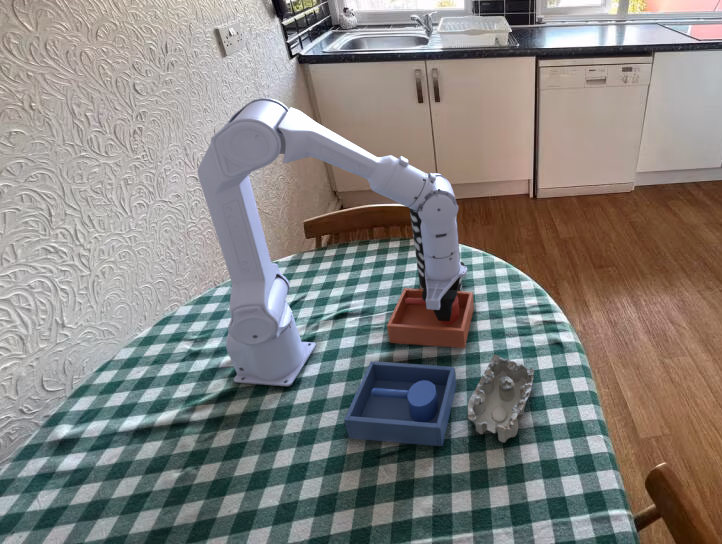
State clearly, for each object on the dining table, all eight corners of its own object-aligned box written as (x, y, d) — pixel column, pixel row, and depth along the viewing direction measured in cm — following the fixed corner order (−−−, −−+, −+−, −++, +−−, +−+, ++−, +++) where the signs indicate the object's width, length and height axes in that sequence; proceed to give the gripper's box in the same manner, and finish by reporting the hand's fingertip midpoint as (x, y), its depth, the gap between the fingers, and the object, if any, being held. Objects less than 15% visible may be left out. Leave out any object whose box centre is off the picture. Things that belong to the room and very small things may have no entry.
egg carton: (512, 450, 56) (511, 431, 54) (463, 428, 58) (461, 409, 56) (538, 382, 64) (538, 364, 63) (494, 366, 67) (494, 348, 65)
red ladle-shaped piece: (403, 321, 73) (401, 306, 71) (410, 304, 76) (408, 289, 75) (456, 324, 72) (455, 309, 70) (461, 307, 76) (460, 292, 74)
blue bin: (348, 438, 57) (343, 420, 55) (374, 378, 65) (370, 360, 64) (442, 446, 56) (440, 428, 54) (456, 384, 64) (454, 366, 63)
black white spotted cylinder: (428, 271, 88) (418, 189, 79) (466, 274, 87) (460, 191, 78) (414, 299, 81) (402, 212, 72) (456, 303, 79) (448, 215, 71)
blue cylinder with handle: (369, 418, 59) (365, 402, 58) (379, 392, 63) (376, 376, 61) (434, 424, 58) (431, 407, 57) (440, 397, 62) (438, 381, 60)
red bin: (389, 343, 72) (386, 326, 70) (406, 303, 80) (404, 287, 78) (464, 348, 70) (463, 331, 69) (474, 307, 79) (473, 291, 77)
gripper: (455, 279, 61) (461, 345, 66) (472, 223, 74) (476, 282, 79) (408, 276, 61) (418, 342, 67) (434, 221, 74) (440, 280, 80)
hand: (447, 309), depth 73 cm, fingers closed on red ladle-shaped piece, 4 cm apart
